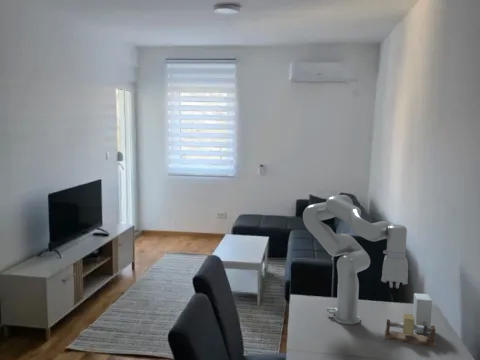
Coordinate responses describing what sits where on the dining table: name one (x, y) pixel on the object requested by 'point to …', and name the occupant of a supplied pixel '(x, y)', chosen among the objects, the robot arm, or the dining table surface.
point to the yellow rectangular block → (408, 324)
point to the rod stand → (411, 338)
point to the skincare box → (422, 310)
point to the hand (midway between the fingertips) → (393, 295)
